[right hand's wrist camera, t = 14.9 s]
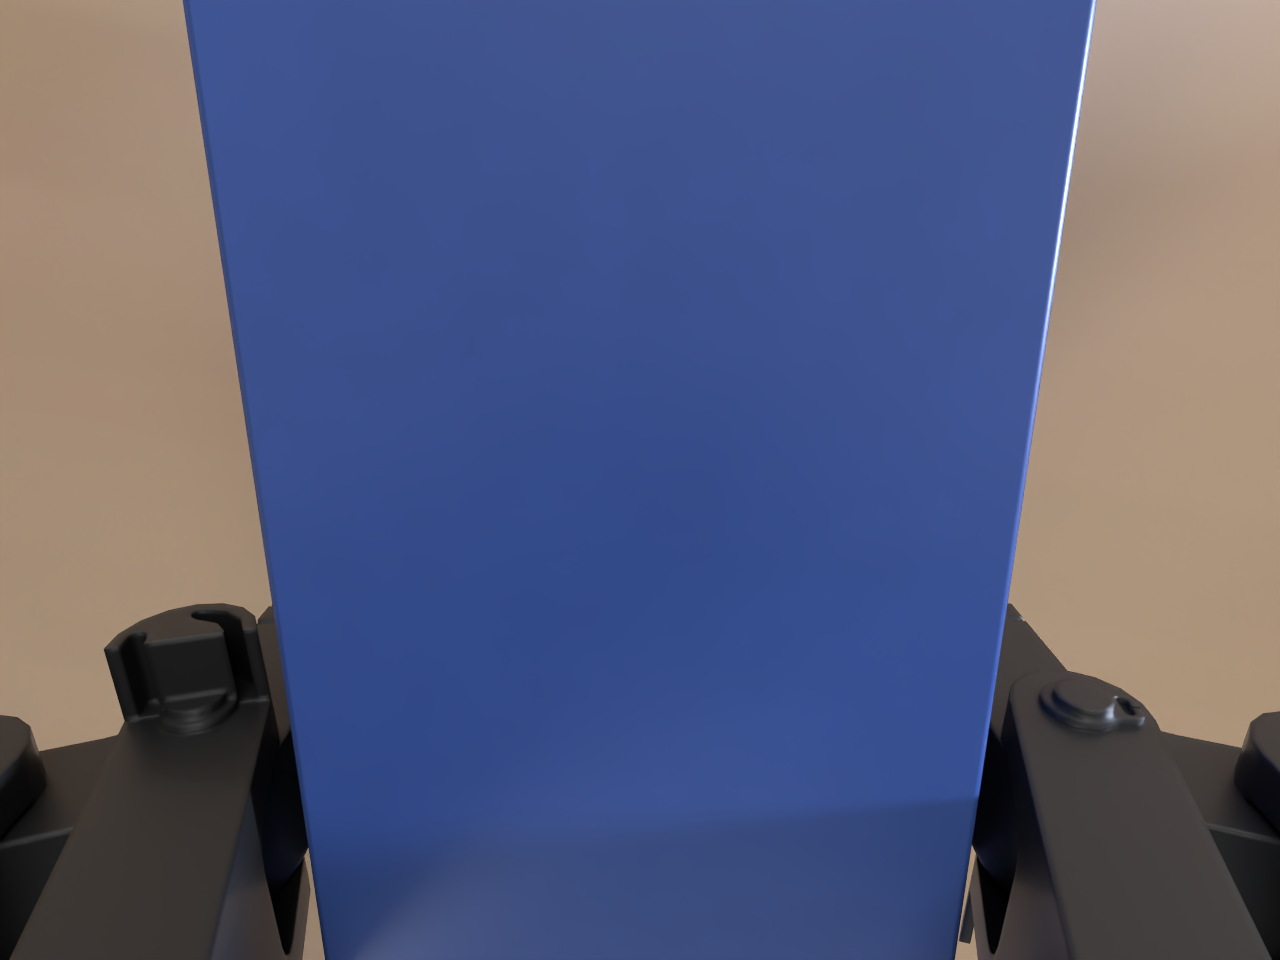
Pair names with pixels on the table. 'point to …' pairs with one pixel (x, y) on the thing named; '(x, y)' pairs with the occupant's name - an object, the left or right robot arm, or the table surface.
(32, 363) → the table surface
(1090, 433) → the table surface
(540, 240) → the bar
